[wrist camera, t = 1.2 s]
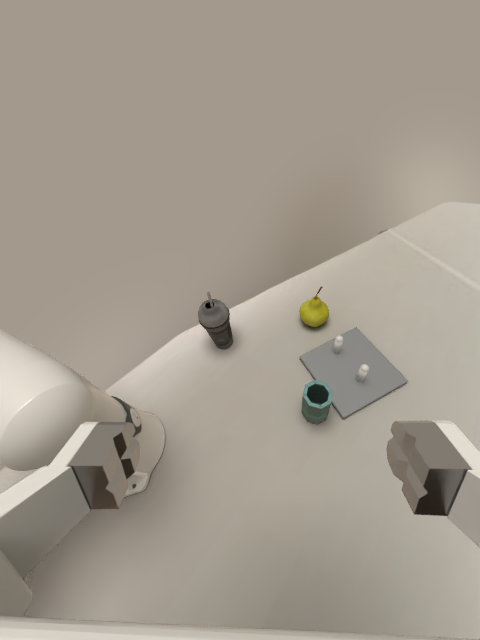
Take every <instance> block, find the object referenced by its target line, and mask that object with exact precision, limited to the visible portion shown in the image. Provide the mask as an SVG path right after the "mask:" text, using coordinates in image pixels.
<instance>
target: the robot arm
mask: <svg viewBox="0 0 480 640" xmlns="http://www.w3.org/2000/svg"><path fill="white" fill-rule="evenodd" d="M391 432H392V434H393V436H394V437H393V438H392V439H390V440H389V441H388V445H387V457H388V462H389V465H390V467H391V470H392V472H393V474H394V475H395V476H396V477H397V478H398V479H400V480H401V481H402V482H403V487H402V492H403V494H404V496H405V498H406V499H407V501H408V503H409V505H410V507H411V509H412V511H413V513H414V514H417V515H437V516H448V517H447V518H448V519H449V520H450V521H451V522H452V523H454V524H455V525H456V526H457V527H458V528H459V529H460V530H461V531H462V532H463V533H464V534H465V535H467V536H468V537H469V538H470V539H471V540H472V541H473V542H474V543H475V544H476V545H477V546H478V547H479V548H480V452H479V451H478V450H477V449H476V448H475V446H474V445H473V444H472V443H471V442H470V441H469V440H468V439H467V438H466V436H465V435H464V434H463V433H462V432H461V431H460V430H459V429H458V427H457V426H456V425H455V424H454V423H452V422H451V421H449V420H435V421H395V422H394V423H393V424H392V427H391ZM164 444H165V432H164V428H163V425H162V423H161V422H160V420H159V419H158V418H157V417H156V416H155V415H153V414H151V413H148V412H142V411H139V410H136V409H134V408H132V407H131V406H130V405H128V404H127V403H125V402H124V401H122V400H120V399H119V398H116V397H113V396H110V395H108V394H107V393H105V392H104V391H102V390H101V389H99V388H98V387H96V386H94V385H93V384H92V383H91V382H90V381H88V380H87V379H86V378H84V377H83V376H81V375H80V374H79V373H77V372H76V371H74V370H73V369H72V368H70V367H69V366H67V365H65V364H64V363H62V362H61V361H59V360H57V359H56V358H54V357H52V356H51V355H49V354H47V353H46V352H44V351H42V350H41V349H39V348H37V347H35V346H33V345H31V344H29V343H27V342H26V341H24V340H22V339H21V338H19V337H17V336H16V335H14V334H12V333H11V332H9V331H7V330H5V329H2V328H0V465H3V466H5V467H7V468H10V469H12V470H17V471H27V470H33V469H37V468H40V467H42V468H40V469H39V470H37V471H36V472H34V473H33V474H31V475H30V476H28V477H26V478H25V479H23V480H22V481H20V482H19V483H17V484H16V485H14V486H13V487H11V488H10V489H8V490H6V491H5V492H3V493H2V494H0V640H480V639H462V638H442V637H422V636H402V635H382V634H361V633H341V632H321V631H300V630H280V629H259V628H239V627H218V626H198V625H178V624H157V623H137V622H116V621H96V620H75V619H55V618H35V617H23V616H24V614H25V612H26V610H27V609H28V607H29V605H30V603H31V601H32V599H33V594H32V591H31V590H30V588H29V587H28V586H27V584H26V583H25V582H24V580H23V579H24V578H25V577H26V576H27V575H28V574H29V573H30V572H31V571H32V570H33V568H34V567H35V566H36V565H37V564H38V563H39V562H40V561H41V560H42V559H43V558H44V557H45V556H46V555H47V554H48V553H49V552H50V551H51V550H52V549H53V548H54V547H55V546H56V545H57V544H58V543H59V542H60V541H61V540H62V539H63V538H64V537H65V536H66V535H67V534H68V533H69V532H70V531H71V530H72V529H73V528H74V527H75V526H76V525H77V524H78V523H79V522H80V521H81V520H82V519H83V518H84V517H85V516H86V515H87V514H88V513H89V512H90V511H91V510H90V509H119V507H120V505H121V503H122V500H123V498H124V497H126V496H130V495H133V494H136V493H139V492H142V491H144V490H145V488H146V487H147V485H148V482H149V478H150V475H151V472H152V470H153V469H154V467H155V466H156V464H157V463H158V461H159V459H160V457H161V455H162V452H163V449H164ZM50 463H51V464H50ZM48 464H50V465H49V466H45V465H48ZM43 466H45V467H43ZM135 484H136V487H135V488H134V485H135Z"/></svg>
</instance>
